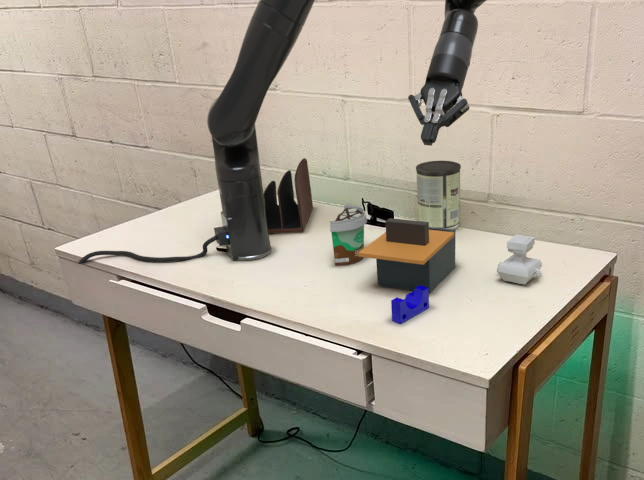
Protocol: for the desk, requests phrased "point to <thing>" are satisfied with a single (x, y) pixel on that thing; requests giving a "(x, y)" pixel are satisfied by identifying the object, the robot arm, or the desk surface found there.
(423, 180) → the coffee can
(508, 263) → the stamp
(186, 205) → the desk surface
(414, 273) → the bin
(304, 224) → the letter holder
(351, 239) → the food container
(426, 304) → the cable holder
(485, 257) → the desk surface
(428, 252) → the lid
